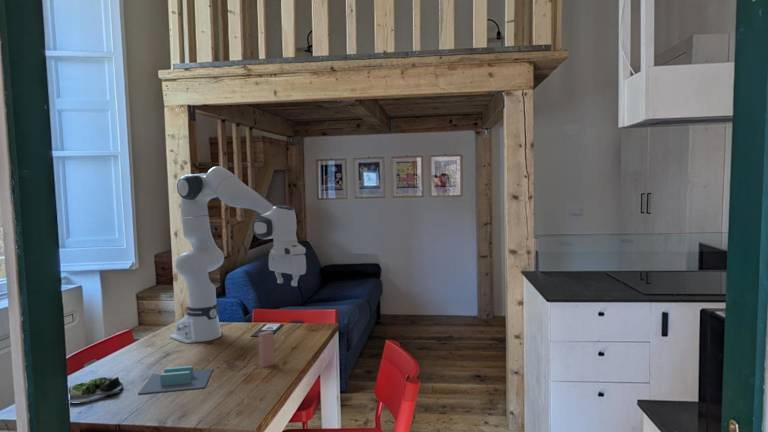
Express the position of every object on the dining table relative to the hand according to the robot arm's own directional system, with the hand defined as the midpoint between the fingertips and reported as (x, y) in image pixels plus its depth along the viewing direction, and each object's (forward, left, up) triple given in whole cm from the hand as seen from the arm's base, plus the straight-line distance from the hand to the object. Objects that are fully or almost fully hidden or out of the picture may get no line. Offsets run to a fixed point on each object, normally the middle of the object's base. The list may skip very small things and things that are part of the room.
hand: (287, 284), depth 183 cm
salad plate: (-38, -52, -28) cm, 70 cm away
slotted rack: (-20, -35, -28) cm, 49 cm away
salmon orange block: (-2, -11, -28) cm, 30 cm away
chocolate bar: (-30, +23, -28) cm, 47 cm away
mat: (-20, -35, -28) cm, 49 cm away
